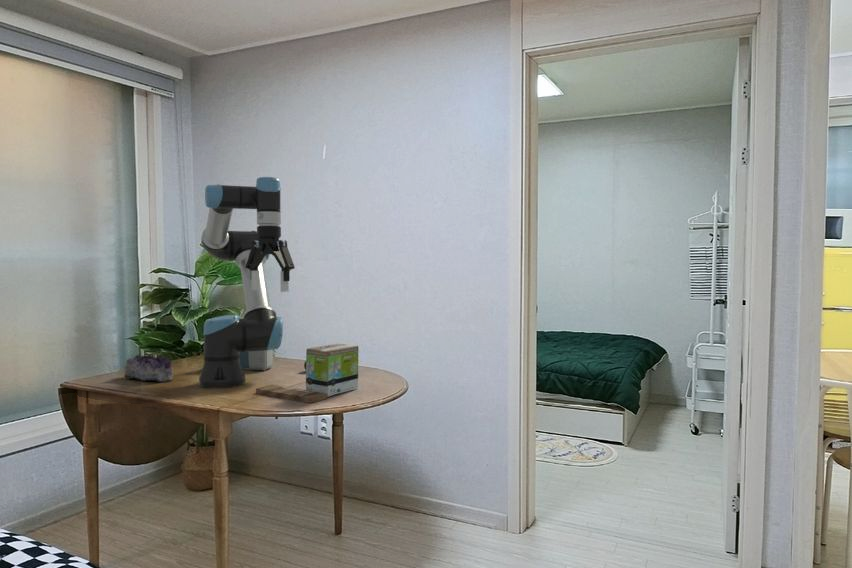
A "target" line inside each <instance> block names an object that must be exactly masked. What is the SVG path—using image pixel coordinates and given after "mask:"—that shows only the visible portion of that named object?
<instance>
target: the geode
mask: <svg viewBox="0 0 852 568" xmlns="http://www.w3.org/2000/svg"><path fill="white" fill-rule="evenodd" d="M168 358H169V357H167V356H166V357H164V356H163V355H161V356H157V357H154V356H152V355H150V354H148V355H147V354H144V355H141V354H137V355H135V356H134V357H130V358H128V359H126V362H125V363H126V364H125V365H124V370H123V371H124V378H130V379H131V378H132V379H135V380H139V381H141V382H155V381H156V382H158V383H162V384H163V383H172V382H173V378H174V372H173V367H172V366H173V364H172V360H171V359H168Z"/></svg>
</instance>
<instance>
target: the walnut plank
mask: <svg viewBox="0 0 852 568" xmlns="http://www.w3.org/2000/svg"><path fill="white" fill-rule="evenodd" d="M258 393H259V394H258ZM255 394H258V395H263V394H264V395H265V396H269V397H274V396H275V398H280V397H281V398H280V399H285V398H286V400H291V401H297V402H303V403H306V404H307V403H308V404H314V403H316V402H319V401H323V400H325V399H327V398H328V397H327V394H326V393H320V392H314V391H308V390H306V389H303V388H295V387H291V386H284V385H283V386H282V385H279V384H270V385H264V386H262V387H258V388H255ZM264 395H263V396H264Z"/></svg>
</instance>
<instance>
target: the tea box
mask: <svg viewBox="0 0 852 568" xmlns="http://www.w3.org/2000/svg"><path fill="white" fill-rule="evenodd" d="M305 351H306V352H305V353H306V356H305V361H306V370H305V390H308V391H314V392H320V393H326V394H327V398H329V397H331V396H335V395H338V394H342V393H346V392H350V391H355V390H358V389H359V345H352V344H343V343H332V344H327V345H326V344H325V345H319V346H314V347H307V348H306V350H305Z"/></svg>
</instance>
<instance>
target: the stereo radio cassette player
mask: <svg viewBox="0 0 852 568" xmlns="http://www.w3.org/2000/svg"><path fill="white" fill-rule="evenodd" d="M240 363H241V365H242V368H243V370H252V371H253V370H256V371H264V372H265V371H266V370H268V369H271V368H272V367H273V366H274V350H269V351H267V350H264V351H249V352H240Z"/></svg>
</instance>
